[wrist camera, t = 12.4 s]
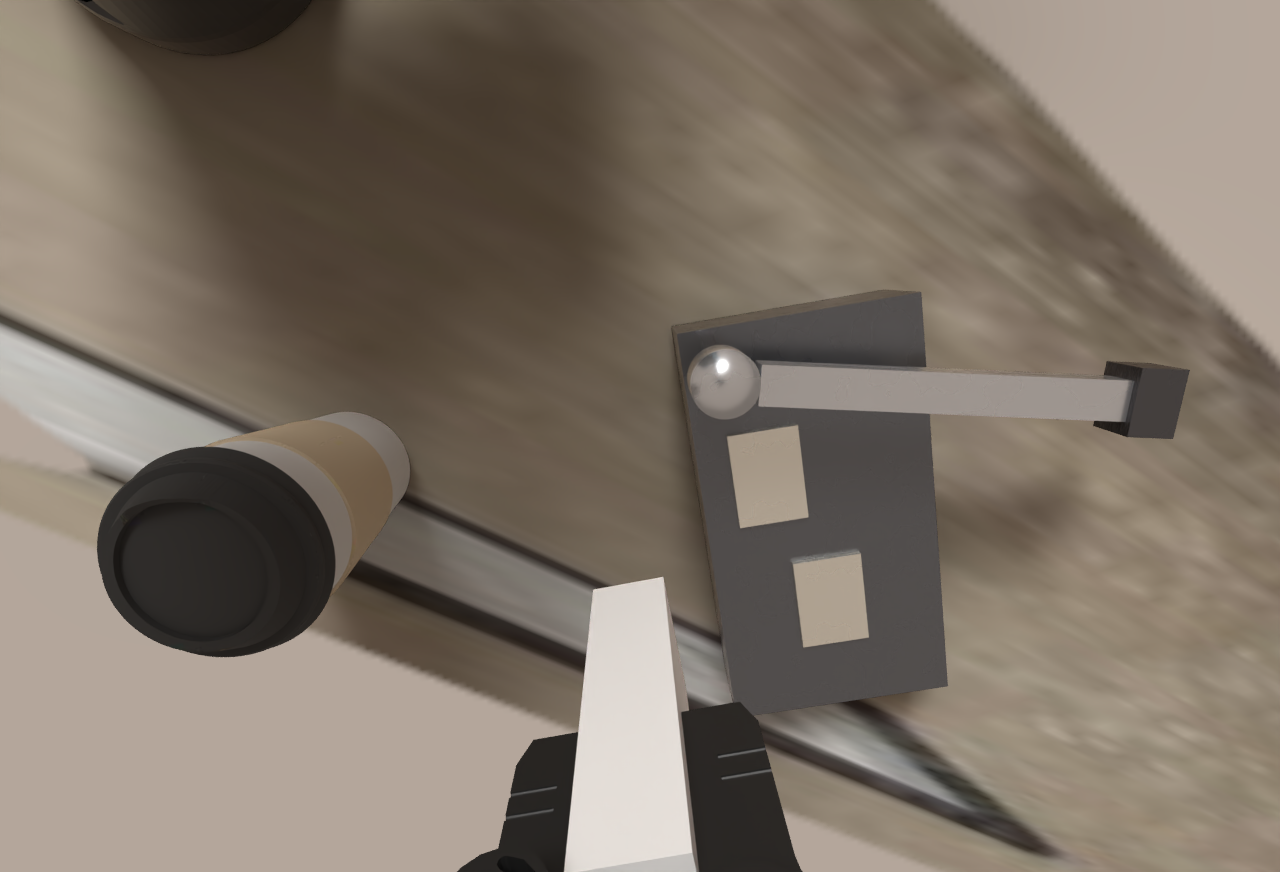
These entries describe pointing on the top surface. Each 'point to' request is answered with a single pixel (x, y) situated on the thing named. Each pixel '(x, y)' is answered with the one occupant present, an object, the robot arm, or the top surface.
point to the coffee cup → (249, 532)
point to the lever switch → (820, 515)
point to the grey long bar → (943, 391)
